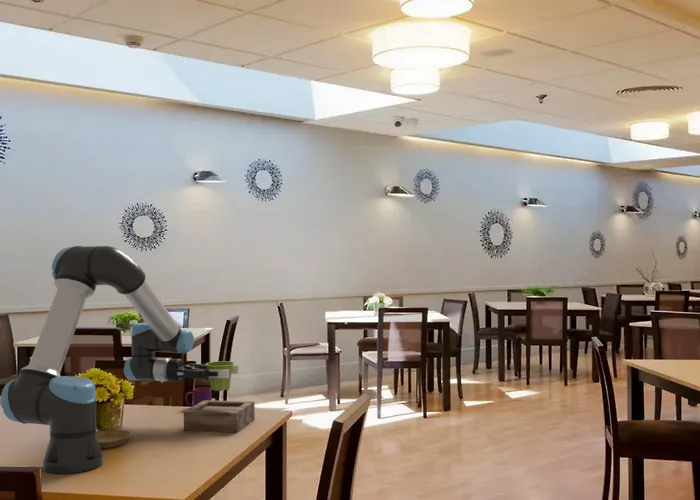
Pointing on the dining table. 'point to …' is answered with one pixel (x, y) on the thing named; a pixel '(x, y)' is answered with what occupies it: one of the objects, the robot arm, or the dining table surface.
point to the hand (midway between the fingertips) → (233, 371)
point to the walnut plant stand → (219, 416)
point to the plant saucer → (112, 438)
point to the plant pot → (220, 383)
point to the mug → (199, 395)
